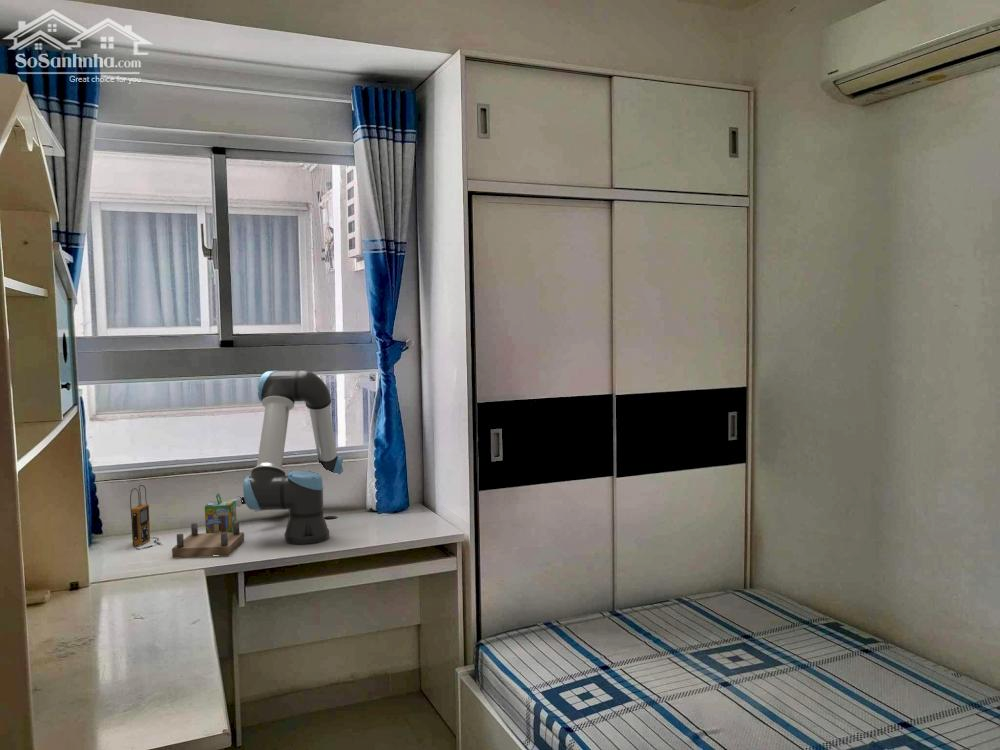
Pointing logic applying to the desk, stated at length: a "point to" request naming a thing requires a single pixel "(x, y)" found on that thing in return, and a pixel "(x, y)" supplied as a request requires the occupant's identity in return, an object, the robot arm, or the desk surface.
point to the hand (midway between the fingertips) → (241, 506)
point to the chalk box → (220, 516)
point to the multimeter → (140, 522)
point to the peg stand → (207, 543)
